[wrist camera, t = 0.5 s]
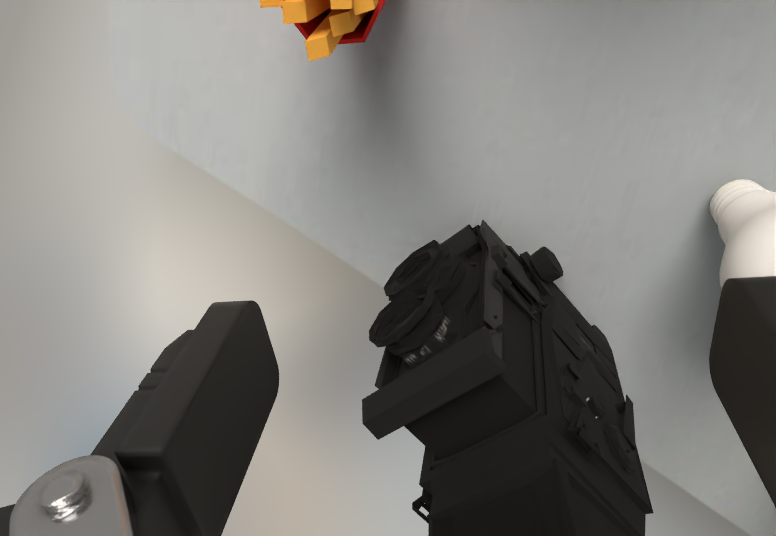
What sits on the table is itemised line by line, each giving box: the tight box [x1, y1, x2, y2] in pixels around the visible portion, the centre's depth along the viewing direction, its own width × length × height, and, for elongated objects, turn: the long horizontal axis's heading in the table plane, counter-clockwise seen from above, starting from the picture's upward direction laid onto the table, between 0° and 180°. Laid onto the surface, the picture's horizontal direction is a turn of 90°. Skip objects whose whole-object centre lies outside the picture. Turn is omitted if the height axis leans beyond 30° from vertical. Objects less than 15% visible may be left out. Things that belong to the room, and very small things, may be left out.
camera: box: [362, 220, 653, 536], centre depth 27 cm, size 10×14×20 cm
